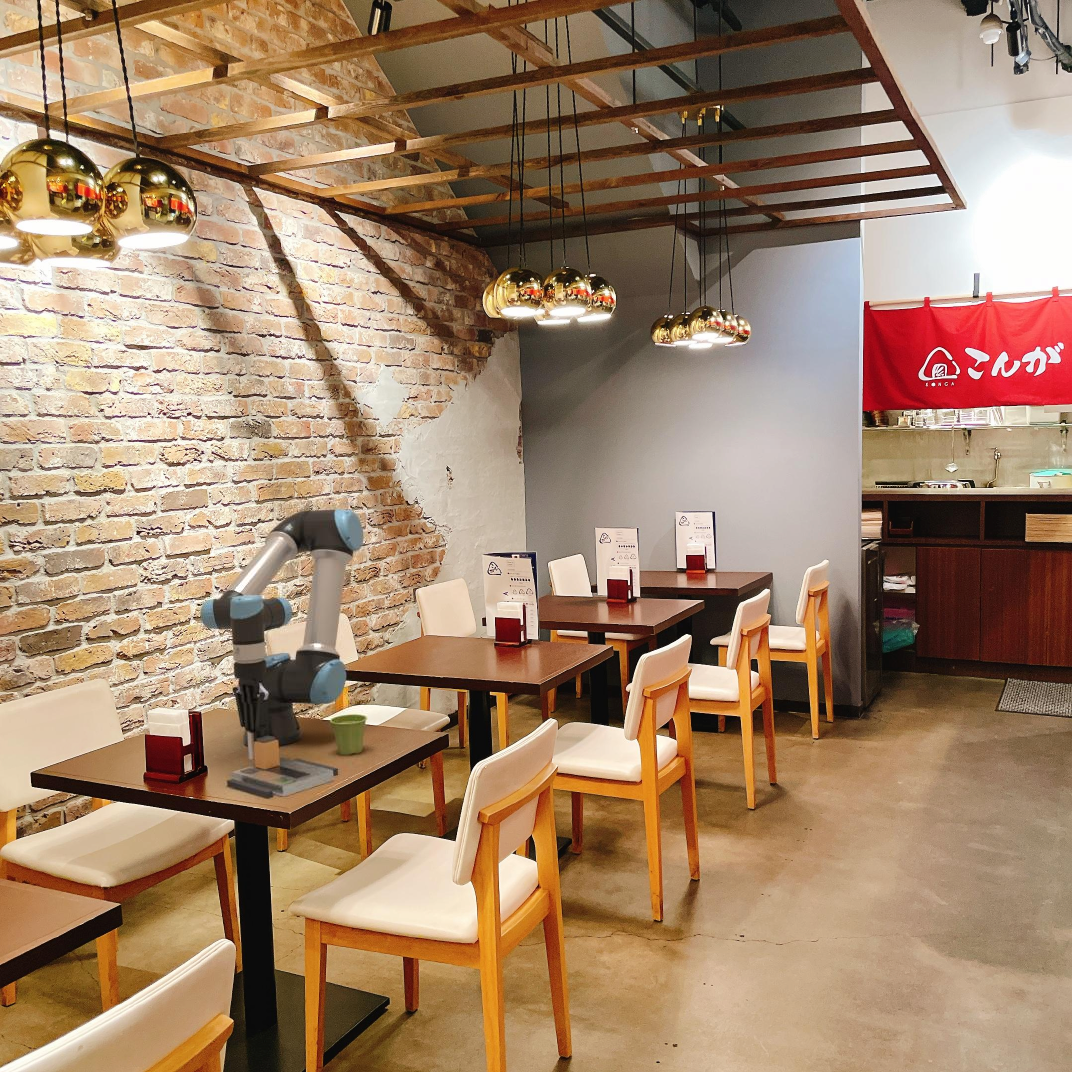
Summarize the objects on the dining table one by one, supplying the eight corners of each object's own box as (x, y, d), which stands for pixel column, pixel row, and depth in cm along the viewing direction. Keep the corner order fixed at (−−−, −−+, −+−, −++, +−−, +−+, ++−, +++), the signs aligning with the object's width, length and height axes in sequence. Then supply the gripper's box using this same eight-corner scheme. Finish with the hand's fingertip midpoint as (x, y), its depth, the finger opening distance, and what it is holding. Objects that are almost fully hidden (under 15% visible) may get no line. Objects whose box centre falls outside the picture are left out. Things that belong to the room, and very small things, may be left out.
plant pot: (374, 747, 261) (373, 714, 260) (359, 757, 252) (357, 723, 251) (342, 746, 263) (340, 713, 263) (325, 756, 254) (323, 722, 254)
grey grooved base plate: (224, 785, 233) (224, 779, 233) (297, 763, 249) (297, 758, 249) (267, 798, 222) (267, 792, 222) (340, 774, 238) (340, 769, 238)
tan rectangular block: (255, 766, 238) (253, 738, 238) (269, 762, 241) (268, 734, 241) (265, 769, 235) (263, 740, 235) (279, 765, 238) (278, 737, 238)
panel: (232, 781, 236) (231, 771, 236) (282, 766, 246) (281, 756, 246) (283, 796, 223) (282, 785, 223) (333, 780, 233) (333, 769, 233)
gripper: (220, 660, 241) (226, 757, 242) (251, 665, 232) (257, 765, 234) (247, 655, 247) (253, 749, 248) (279, 660, 238) (284, 757, 239)
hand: (255, 757), depth 241 cm, fingers closed
